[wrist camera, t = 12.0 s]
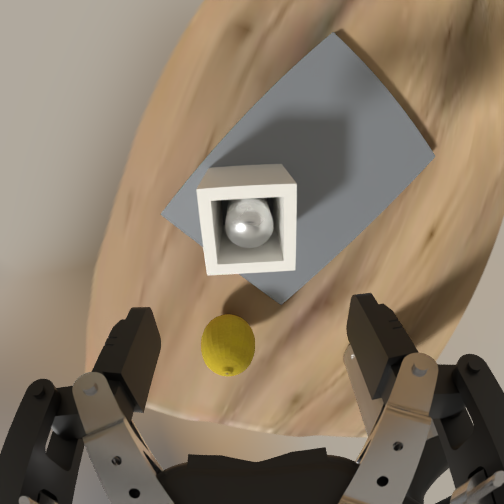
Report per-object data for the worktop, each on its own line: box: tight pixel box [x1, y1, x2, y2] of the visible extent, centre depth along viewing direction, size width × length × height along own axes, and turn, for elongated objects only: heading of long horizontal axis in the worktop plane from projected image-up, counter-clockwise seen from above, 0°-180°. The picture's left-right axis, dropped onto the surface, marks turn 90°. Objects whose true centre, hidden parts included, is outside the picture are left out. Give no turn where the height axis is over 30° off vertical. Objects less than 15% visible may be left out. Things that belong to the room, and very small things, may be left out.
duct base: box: [161, 32, 435, 305], centre depth 24 cm, size 15×22×2 cm
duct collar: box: [196, 164, 297, 275], centre depth 21 cm, size 6×6×7 cm
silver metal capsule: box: [225, 198, 273, 248], centre depth 22 cm, size 3×3×6 cm
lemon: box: [201, 314, 255, 376], centre depth 29 cm, size 6×6×8 cm
